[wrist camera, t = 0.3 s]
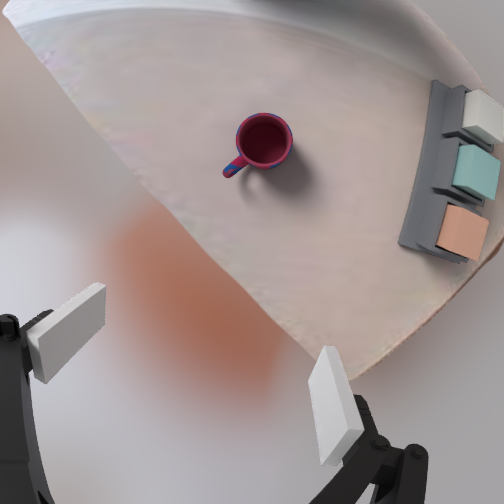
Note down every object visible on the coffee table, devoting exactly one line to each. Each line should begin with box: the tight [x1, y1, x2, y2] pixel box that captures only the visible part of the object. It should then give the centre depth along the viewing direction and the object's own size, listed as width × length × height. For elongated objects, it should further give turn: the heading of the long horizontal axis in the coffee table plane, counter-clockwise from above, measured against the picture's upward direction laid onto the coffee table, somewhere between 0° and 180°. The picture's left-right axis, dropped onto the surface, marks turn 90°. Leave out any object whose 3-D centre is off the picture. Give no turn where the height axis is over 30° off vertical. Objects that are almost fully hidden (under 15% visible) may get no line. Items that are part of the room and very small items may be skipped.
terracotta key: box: [436, 204, 489, 261], centre depth 34 cm, size 6×6×5 cm
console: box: [398, 80, 494, 264], centre depth 35 cm, size 28×13×6 cm, turn 166°
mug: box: [223, 113, 293, 178], centre depth 37 cm, size 7×10×7 cm
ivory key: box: [461, 89, 504, 144], centre depth 30 cm, size 6×6×5 cm
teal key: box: [451, 145, 501, 201], centre depth 32 cm, size 6×6×5 cm
